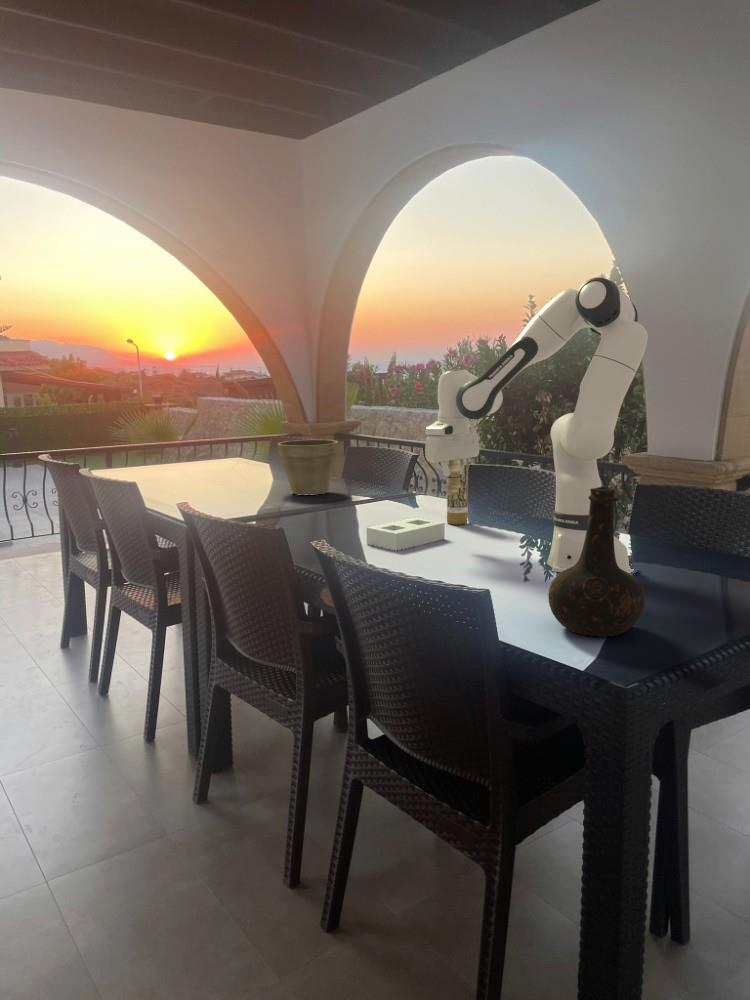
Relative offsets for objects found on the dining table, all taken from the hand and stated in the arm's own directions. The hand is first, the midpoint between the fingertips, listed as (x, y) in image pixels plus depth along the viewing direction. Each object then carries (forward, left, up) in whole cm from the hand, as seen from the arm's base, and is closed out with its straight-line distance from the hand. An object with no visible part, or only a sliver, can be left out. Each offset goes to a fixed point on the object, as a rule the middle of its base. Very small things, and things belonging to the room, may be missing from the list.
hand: (453, 475), depth 210 cm
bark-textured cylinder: (+18, -24, -21) cm, 36 cm away
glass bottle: (-66, +36, -21) cm, 78 cm away
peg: (0, 0, -6) cm, 6 cm away
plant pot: (+102, -29, -21) cm, 108 cm away
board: (+12, +7, -20) cm, 25 cm away
